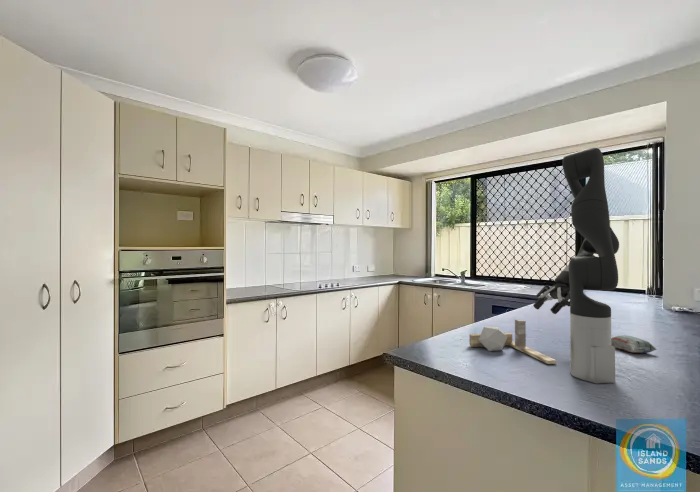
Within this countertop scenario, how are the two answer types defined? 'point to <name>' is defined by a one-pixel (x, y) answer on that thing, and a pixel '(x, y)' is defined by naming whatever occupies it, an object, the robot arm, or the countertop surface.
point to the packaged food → (632, 344)
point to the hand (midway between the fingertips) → (543, 310)
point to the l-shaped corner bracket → (516, 342)
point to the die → (493, 338)
